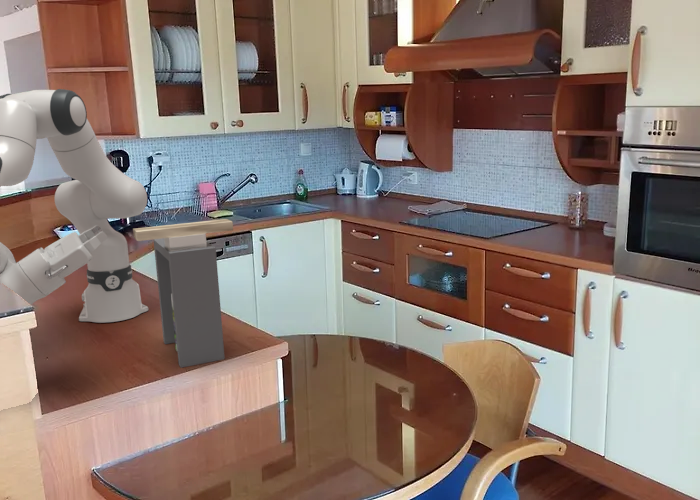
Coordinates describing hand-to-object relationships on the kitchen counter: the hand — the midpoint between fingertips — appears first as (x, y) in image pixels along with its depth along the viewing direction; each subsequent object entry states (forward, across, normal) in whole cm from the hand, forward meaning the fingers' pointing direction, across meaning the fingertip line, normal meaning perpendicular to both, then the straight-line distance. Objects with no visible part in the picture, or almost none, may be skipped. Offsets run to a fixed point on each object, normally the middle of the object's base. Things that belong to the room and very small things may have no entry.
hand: (102, 230), depth 141 cm
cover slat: (+13, 0, +11) cm, 17 cm away
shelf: (-1, +5, +36) cm, 36 cm away
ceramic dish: (+12, 0, +13) cm, 18 cm away
